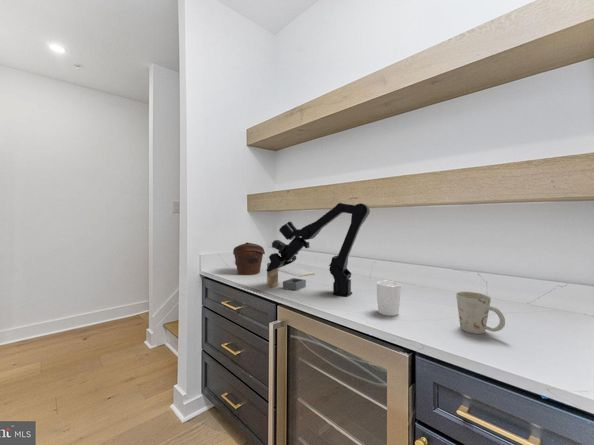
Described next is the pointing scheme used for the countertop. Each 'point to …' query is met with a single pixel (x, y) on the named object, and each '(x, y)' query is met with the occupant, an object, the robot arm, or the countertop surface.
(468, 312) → the mug
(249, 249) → the brown tapered cylinder
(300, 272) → the baseboard
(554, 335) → the countertop surface
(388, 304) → the white cup
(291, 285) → the end cap
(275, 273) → the slat
